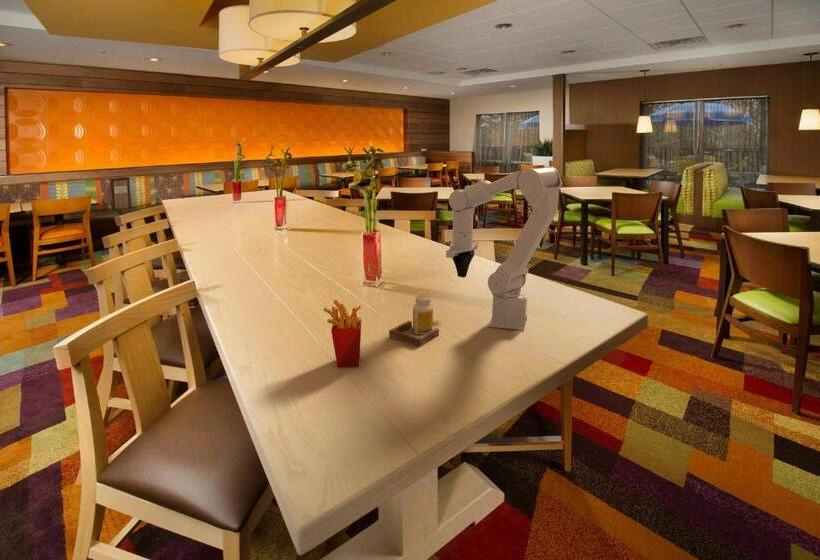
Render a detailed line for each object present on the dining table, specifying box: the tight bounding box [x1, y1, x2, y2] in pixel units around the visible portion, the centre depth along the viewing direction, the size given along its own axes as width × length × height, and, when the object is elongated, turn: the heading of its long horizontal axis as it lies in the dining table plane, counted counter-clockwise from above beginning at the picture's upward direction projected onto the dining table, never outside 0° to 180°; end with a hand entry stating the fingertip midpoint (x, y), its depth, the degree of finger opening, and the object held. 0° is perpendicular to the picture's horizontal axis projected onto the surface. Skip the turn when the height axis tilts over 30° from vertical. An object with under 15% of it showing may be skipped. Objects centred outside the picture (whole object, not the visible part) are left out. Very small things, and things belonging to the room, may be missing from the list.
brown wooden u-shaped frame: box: [388, 320, 440, 347], centre depth 126 cm, size 8×10×2 cm
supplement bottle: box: [412, 295, 434, 336], centre depth 129 cm, size 5×5×10 cm
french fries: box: [323, 299, 362, 369], centre depth 110 cm, size 9×8×15 cm
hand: (462, 276), depth 143 cm, fingers closed
